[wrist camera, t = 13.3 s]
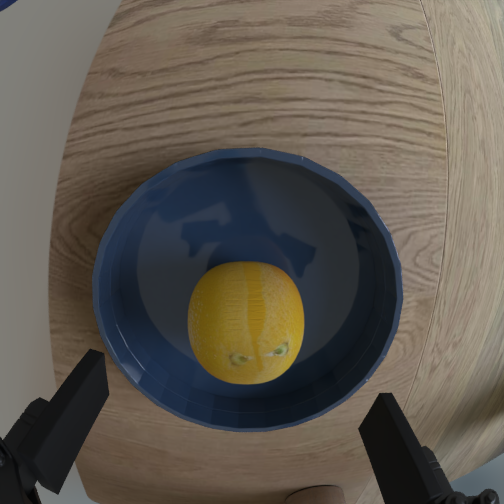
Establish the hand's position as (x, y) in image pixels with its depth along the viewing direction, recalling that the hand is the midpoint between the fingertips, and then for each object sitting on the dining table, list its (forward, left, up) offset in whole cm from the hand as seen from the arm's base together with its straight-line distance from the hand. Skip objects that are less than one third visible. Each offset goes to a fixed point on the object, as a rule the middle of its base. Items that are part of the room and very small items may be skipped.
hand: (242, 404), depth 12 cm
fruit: (0, 0, -12) cm, 12 cm away
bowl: (0, 0, -13) cm, 13 cm away
